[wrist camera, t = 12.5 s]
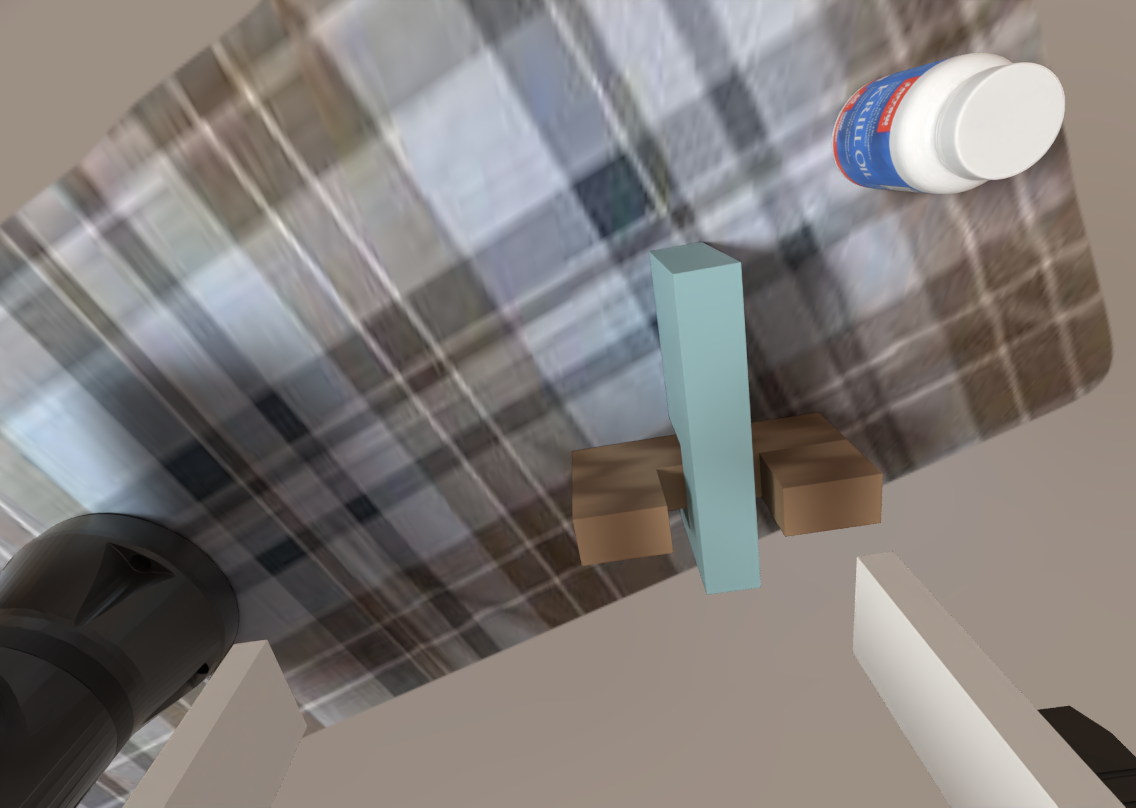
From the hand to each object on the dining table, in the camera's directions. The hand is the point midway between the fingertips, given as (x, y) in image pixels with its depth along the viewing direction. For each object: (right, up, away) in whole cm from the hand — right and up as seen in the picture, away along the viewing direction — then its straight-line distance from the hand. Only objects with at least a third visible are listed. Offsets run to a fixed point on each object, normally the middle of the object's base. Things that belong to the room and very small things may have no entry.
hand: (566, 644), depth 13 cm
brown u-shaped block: (+8, +2, +25) cm, 26 cm away
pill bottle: (+17, +20, +18) cm, 31 cm away
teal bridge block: (+8, +6, +23) cm, 25 cm away
